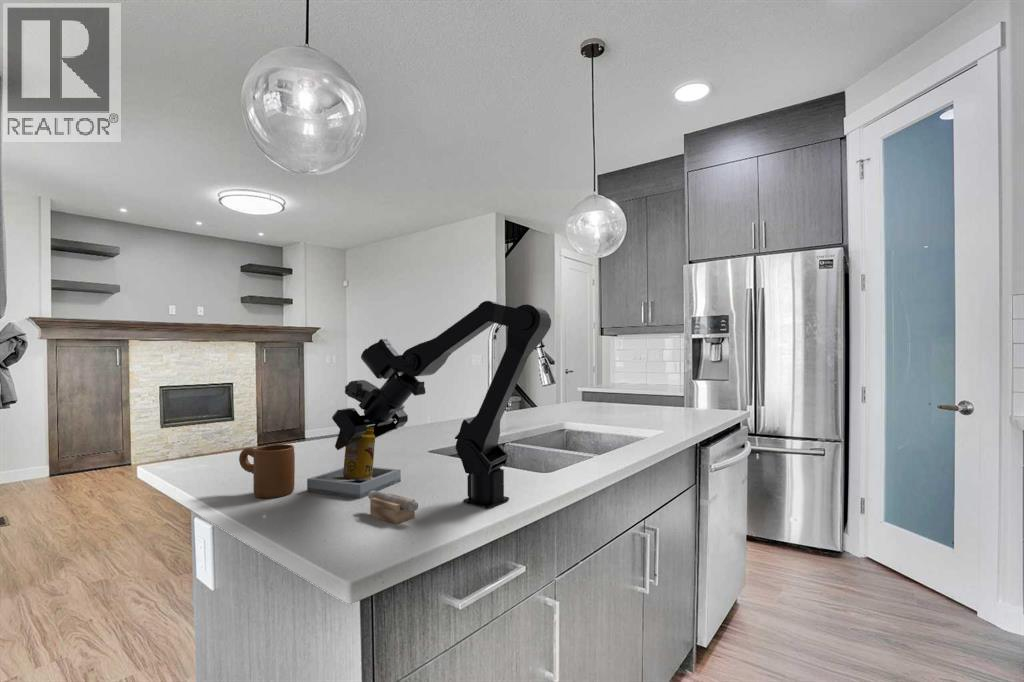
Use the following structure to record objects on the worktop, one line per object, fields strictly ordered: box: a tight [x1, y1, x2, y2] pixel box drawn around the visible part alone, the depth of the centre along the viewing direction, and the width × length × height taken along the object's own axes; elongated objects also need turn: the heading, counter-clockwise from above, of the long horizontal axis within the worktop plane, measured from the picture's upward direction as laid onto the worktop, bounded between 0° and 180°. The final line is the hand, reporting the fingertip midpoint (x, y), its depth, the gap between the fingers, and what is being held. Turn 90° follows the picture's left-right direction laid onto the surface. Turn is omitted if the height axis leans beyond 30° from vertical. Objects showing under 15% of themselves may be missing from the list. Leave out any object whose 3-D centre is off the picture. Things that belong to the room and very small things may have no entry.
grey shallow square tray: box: [306, 466, 402, 499], centre depth 105 cm, size 14×14×3 cm
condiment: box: [327, 425, 376, 481], centre depth 105 cm, size 7×8×12 cm
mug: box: [238, 444, 296, 499], centre depth 101 cm, size 12×8×9 cm, turn 78°
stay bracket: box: [367, 490, 419, 525], centre depth 85 cm, size 13×4×4 cm, turn 53°
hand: (350, 444), depth 106 cm, fingers open, 8 cm apart
